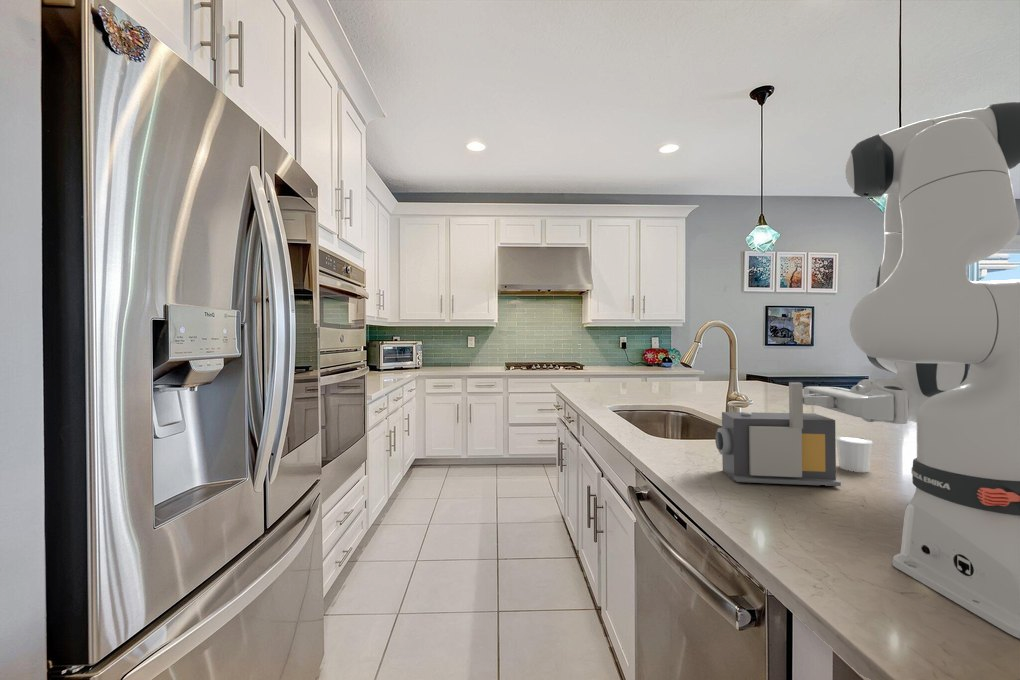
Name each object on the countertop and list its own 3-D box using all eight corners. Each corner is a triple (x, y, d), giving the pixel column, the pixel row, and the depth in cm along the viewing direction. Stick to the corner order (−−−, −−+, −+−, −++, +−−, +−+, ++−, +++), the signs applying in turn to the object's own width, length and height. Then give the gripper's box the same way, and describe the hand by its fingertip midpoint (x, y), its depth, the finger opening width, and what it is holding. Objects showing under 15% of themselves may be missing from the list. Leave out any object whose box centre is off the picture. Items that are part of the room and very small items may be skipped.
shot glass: (859, 464, 104) (858, 436, 103) (881, 473, 97) (880, 443, 97) (829, 464, 104) (829, 435, 104) (848, 473, 97) (848, 442, 97)
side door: (803, 478, 88) (802, 383, 88) (752, 476, 90) (750, 383, 90) (800, 476, 90) (799, 382, 90) (749, 474, 92) (748, 382, 91)
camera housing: (840, 489, 87) (840, 418, 87) (726, 484, 91) (725, 416, 91) (815, 473, 97) (814, 410, 97) (713, 470, 101) (712, 409, 101)
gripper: (844, 380, 97) (779, 380, 99) (913, 391, 77) (828, 391, 79) (845, 407, 97) (779, 406, 99) (913, 426, 77) (828, 424, 79)
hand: (801, 399), depth 89 cm, fingers closed, pressing on side door
